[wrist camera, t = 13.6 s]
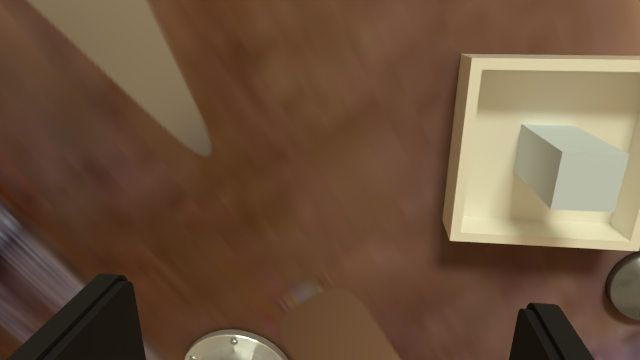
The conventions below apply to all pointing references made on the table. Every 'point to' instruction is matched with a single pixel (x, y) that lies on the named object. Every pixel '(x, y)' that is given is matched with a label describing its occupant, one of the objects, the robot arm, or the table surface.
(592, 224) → the dish
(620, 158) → the strut
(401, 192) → the table surface
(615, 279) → the grey round domed disc
